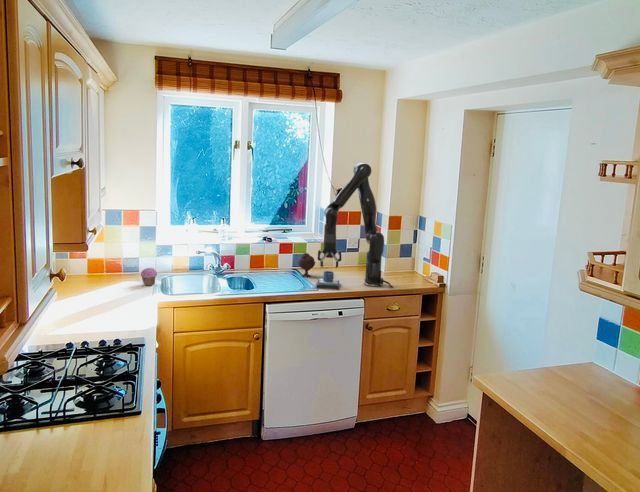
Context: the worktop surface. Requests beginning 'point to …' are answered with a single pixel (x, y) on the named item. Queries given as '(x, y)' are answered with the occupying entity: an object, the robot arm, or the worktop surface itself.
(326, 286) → the scale
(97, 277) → the worktop surface
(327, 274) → the dip bowl
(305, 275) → the miniature tree
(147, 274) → the cupcake
